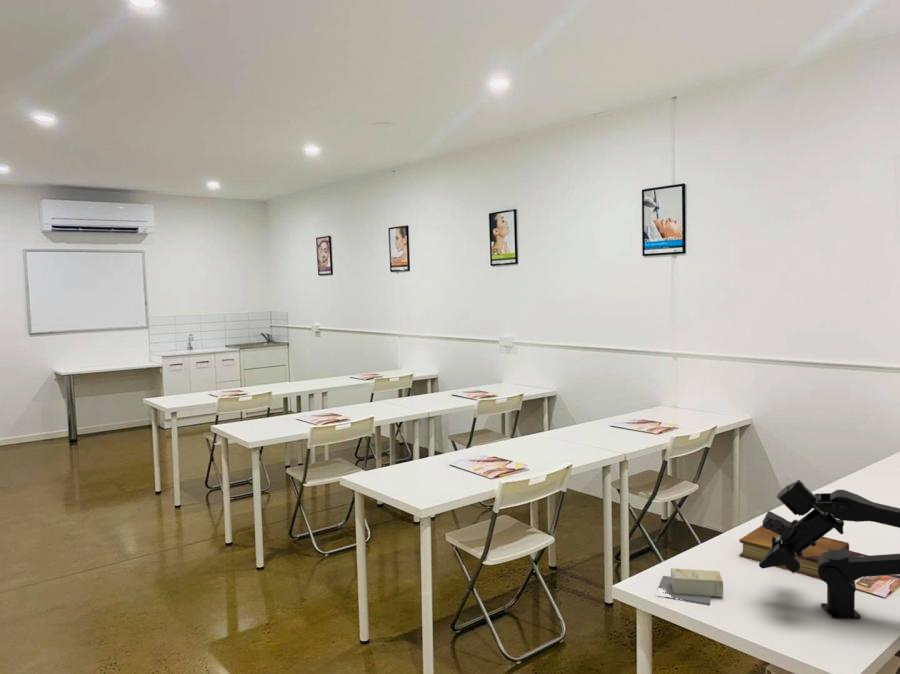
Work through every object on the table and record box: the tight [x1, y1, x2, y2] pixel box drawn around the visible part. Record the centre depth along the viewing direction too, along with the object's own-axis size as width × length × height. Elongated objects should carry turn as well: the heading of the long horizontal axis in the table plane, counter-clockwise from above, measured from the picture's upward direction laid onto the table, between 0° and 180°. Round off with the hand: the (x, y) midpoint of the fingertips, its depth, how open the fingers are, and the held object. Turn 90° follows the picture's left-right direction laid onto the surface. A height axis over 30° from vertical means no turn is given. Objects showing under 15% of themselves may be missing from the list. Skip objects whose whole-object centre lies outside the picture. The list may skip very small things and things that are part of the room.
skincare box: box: [670, 568, 724, 598], centre depth 171 cm, size 6×4×12 cm
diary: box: [738, 525, 850, 580], centre depth 189 cm, size 23×19×6 cm
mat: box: [657, 575, 712, 606], centre depth 172 cm, size 13×12×1 cm
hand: (760, 566), depth 165 cm, fingers closed
